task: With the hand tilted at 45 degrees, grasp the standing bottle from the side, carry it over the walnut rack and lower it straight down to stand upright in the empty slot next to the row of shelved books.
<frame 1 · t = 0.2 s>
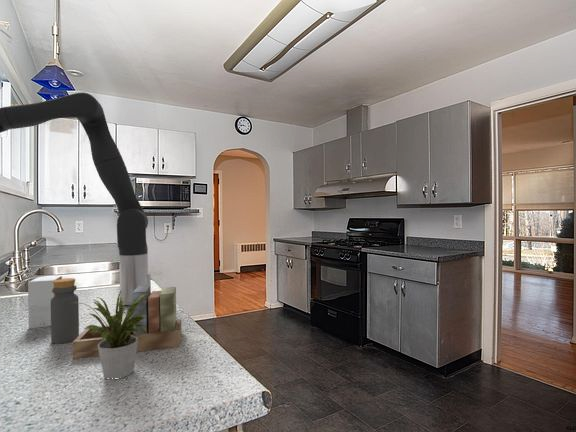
bottle: (65, 340, 85), on the countertop
house plant: (111, 377, 65), on the countertop
rack: (132, 344, 81), on the countertop
small box: (46, 323, 98), on the countertop
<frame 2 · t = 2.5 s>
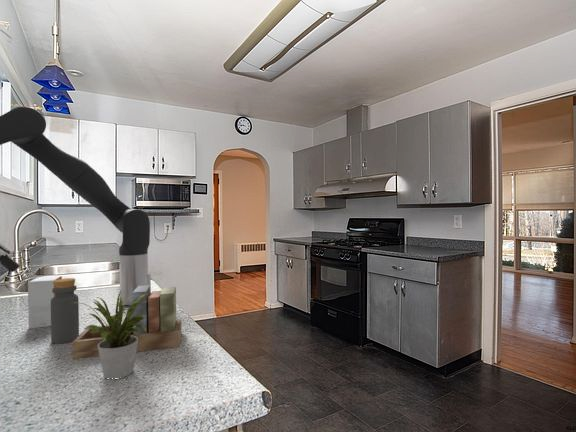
hand: (6, 271, 81), 18 cm above the countertop, tool tilted 45°, fingers open, 8 cm apart
nothing on the countertop moved.
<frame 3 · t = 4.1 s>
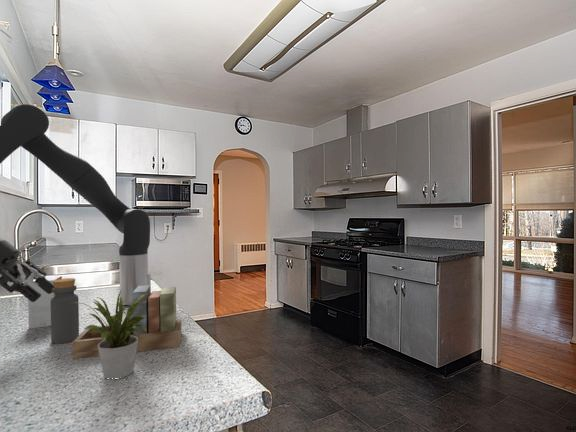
hand: (45, 294, 83), 12 cm above the countertop, tool tilted 45°, fingers open, 8 cm apart
nothing on the countertop moved.
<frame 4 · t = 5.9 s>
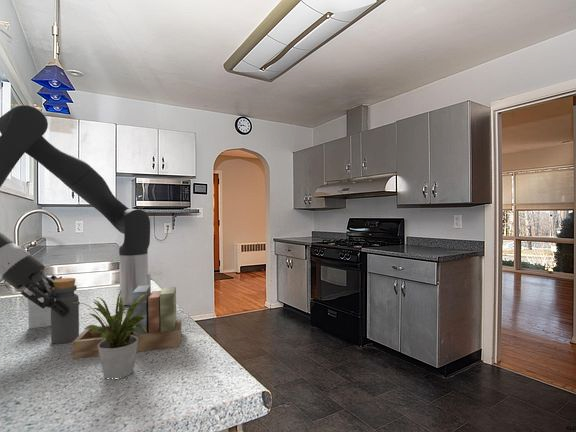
hand: (72, 309, 85), 7 cm above the countertop, tool tilted 45°, fingers closed on bottle, 6 cm apart
bottle: (65, 339, 85), on the countertop, touching gripper
everything else where it was.
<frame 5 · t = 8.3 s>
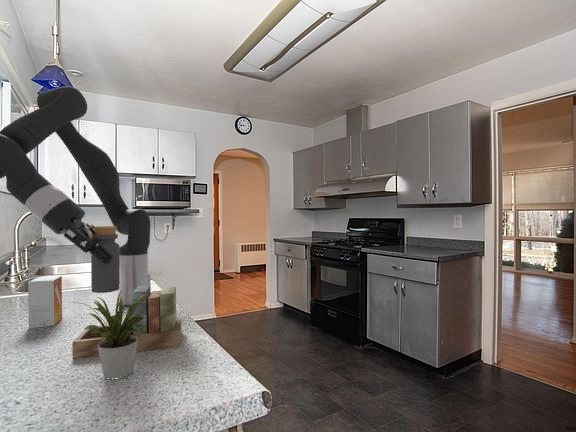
hand: (113, 259, 80), 21 cm above the countertop, tool tilted 45°, fingers closed on bottle, 6 cm apart
bottle: (105, 290, 80), point 13 cm above the countertop, touching gripper
everything else where it was.
when the fingers open (9 cm above the countertop, at t = 11.0 s): bottle stays where it is, resting on rack.
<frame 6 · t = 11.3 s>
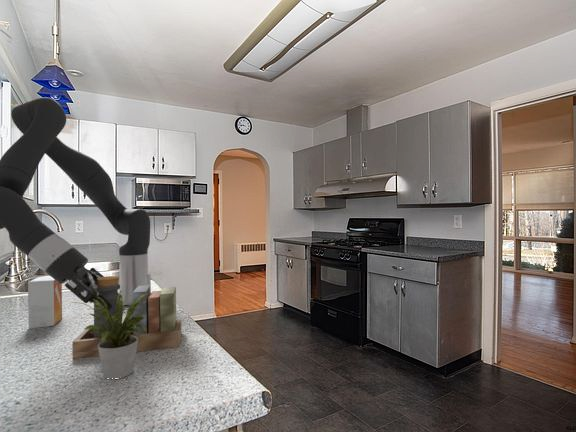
hand: (114, 304, 80), 10 cm above the countertop, tool tilted 45°, fingers open, 8 cm apart
bottle: (108, 342, 79), point 1 cm above the countertop, touching rack
everything else where it was.
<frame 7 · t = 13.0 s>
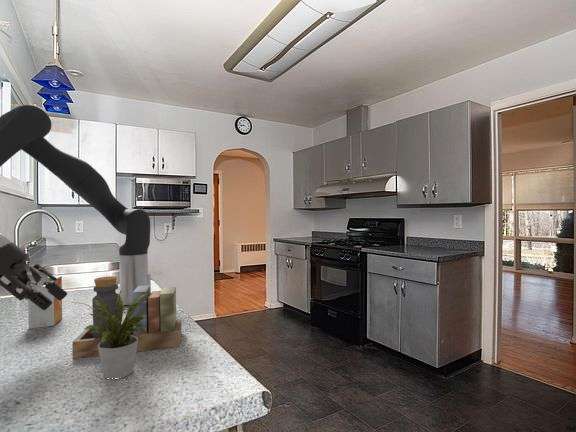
hand: (57, 301, 77), 11 cm above the countertop, tool tilted 45°, fingers open, 8 cm apart
nothing on the countertop moved.
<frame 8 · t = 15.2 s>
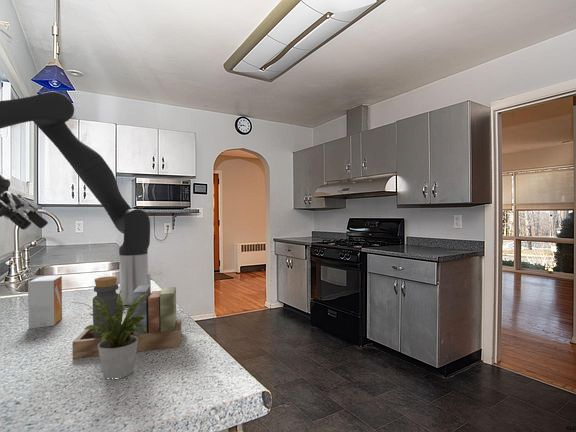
hand: (36, 226, 81), 29 cm above the countertop, tool tilted 45°, fingers open, 8 cm apart
nothing on the countertop moved.
at the end: bottle inside the target area on the rack (0.2 cm from its centre), point 1.1 cm above the rack's base; bottle tilted 1°; the gripper is holding nothing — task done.
